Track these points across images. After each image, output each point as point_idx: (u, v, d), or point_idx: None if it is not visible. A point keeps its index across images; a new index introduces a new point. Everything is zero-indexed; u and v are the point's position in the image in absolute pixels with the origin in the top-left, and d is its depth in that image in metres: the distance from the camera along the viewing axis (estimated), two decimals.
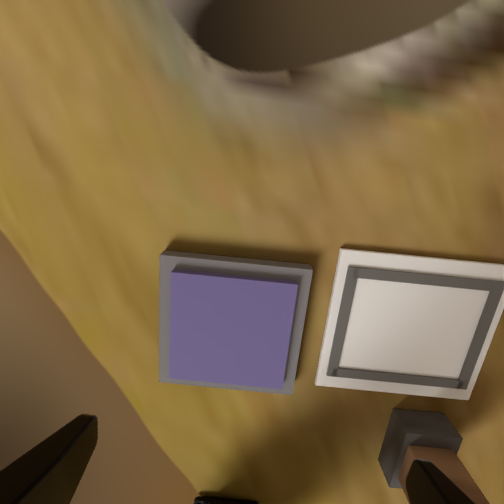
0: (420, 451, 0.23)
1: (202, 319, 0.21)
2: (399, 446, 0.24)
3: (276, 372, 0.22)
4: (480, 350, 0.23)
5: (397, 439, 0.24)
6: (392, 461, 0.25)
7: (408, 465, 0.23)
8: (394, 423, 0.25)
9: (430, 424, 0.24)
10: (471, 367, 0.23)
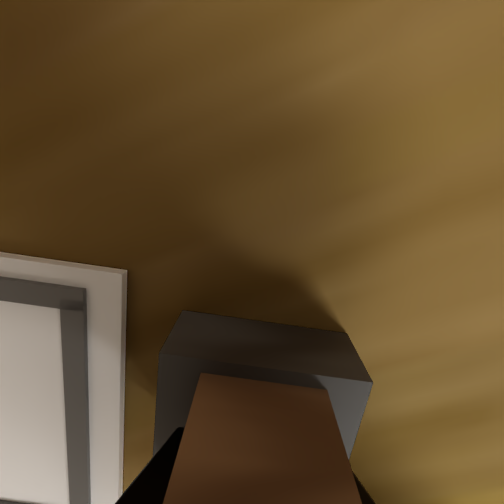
0: None
1: None
2: None
3: None
4: None
5: None
6: None
7: None
8: None
9: None
10: (17, 288, 0.10)
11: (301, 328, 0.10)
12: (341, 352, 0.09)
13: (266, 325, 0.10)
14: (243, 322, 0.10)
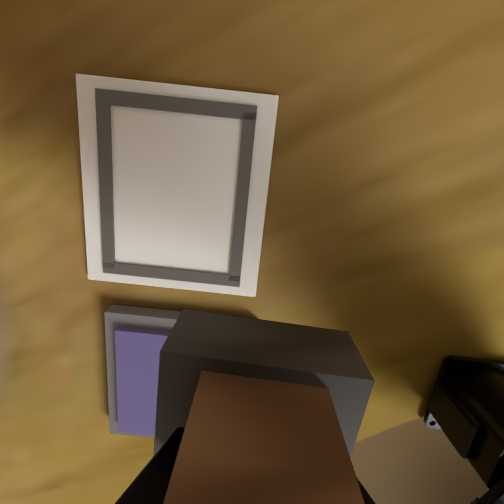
0: None
1: None
2: None
3: None
4: (194, 98, 0.17)
5: None
6: None
7: None
8: None
9: None
10: (220, 106, 0.17)
11: (302, 326, 0.10)
12: (342, 350, 0.09)
13: (267, 323, 0.10)
14: (244, 320, 0.10)
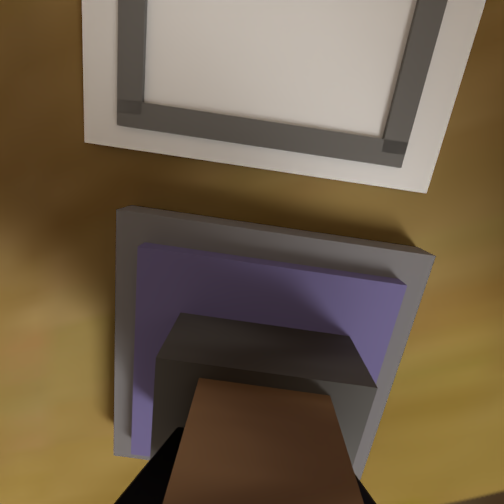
0: None
1: None
2: None
3: (358, 295, 0.10)
4: None
5: None
6: None
7: None
8: None
9: None
10: None
11: (302, 331, 0.10)
12: (344, 356, 0.09)
13: (266, 328, 0.10)
14: (243, 325, 0.10)
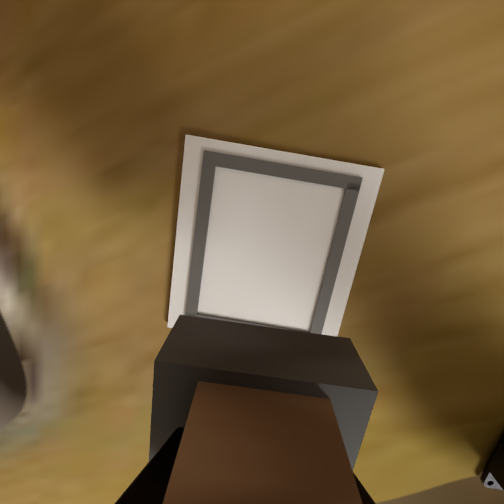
0: None
1: None
2: None
3: None
4: (301, 166, 0.17)
5: None
6: None
7: None
8: None
9: None
10: (326, 175, 0.17)
11: (302, 333, 0.10)
12: (344, 358, 0.09)
13: (266, 330, 0.10)
14: (242, 327, 0.10)
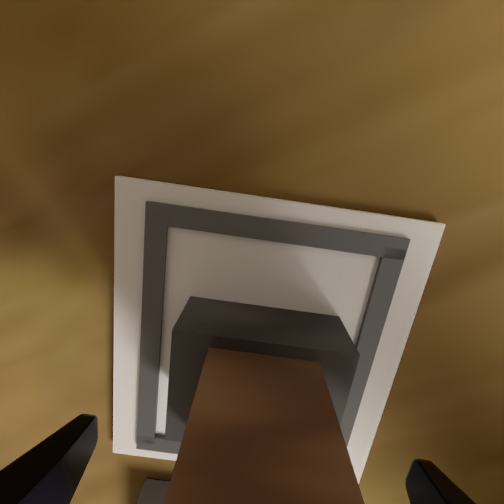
0: None
1: None
2: None
3: None
4: (308, 223, 0.10)
5: None
6: None
7: None
8: None
9: None
10: (349, 237, 0.10)
11: (297, 311, 0.11)
12: (333, 331, 0.10)
13: (266, 309, 0.11)
14: (245, 306, 0.11)
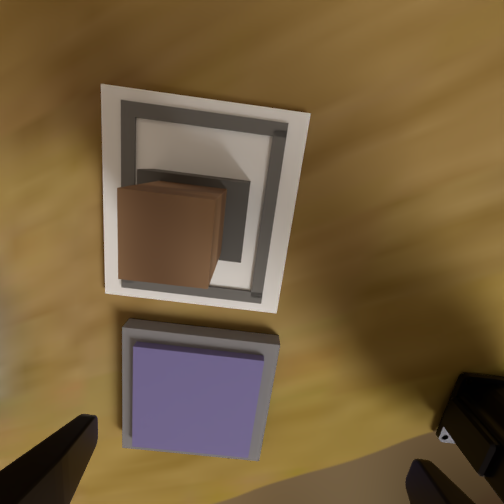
0: None
1: (178, 426, 0.22)
2: None
3: (241, 365, 0.20)
4: (224, 113, 0.16)
5: None
6: None
7: None
8: None
9: None
10: (250, 122, 0.17)
11: None
12: (241, 180, 0.16)
13: (202, 175, 0.17)
14: (188, 173, 0.17)
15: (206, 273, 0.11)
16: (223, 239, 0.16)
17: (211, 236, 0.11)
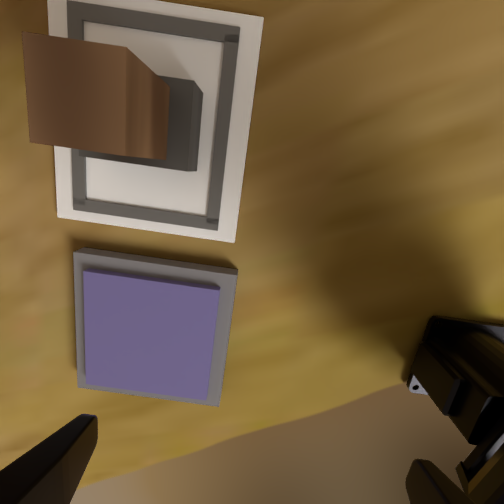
0: None
1: (132, 363, 0.21)
2: (112, 160, 0.16)
3: (195, 295, 0.19)
4: (173, 16, 0.16)
5: None
6: None
7: None
8: None
9: None
10: (200, 26, 0.16)
11: None
12: None
13: None
14: None
15: (122, 136, 0.11)
16: (168, 144, 0.15)
17: (125, 92, 0.10)
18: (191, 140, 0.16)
